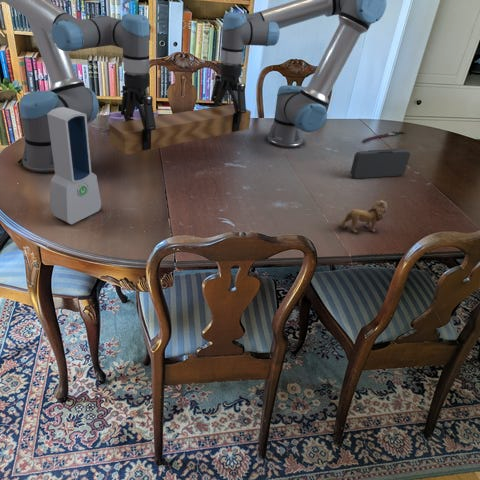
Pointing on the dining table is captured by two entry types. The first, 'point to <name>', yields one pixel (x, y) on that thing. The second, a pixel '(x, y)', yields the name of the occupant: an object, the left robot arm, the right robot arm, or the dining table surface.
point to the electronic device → (71, 167)
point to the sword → (382, 136)
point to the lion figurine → (366, 215)
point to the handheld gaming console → (380, 163)
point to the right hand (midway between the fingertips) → (226, 126)
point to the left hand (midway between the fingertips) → (138, 143)
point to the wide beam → (177, 128)
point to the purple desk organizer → (117, 117)
